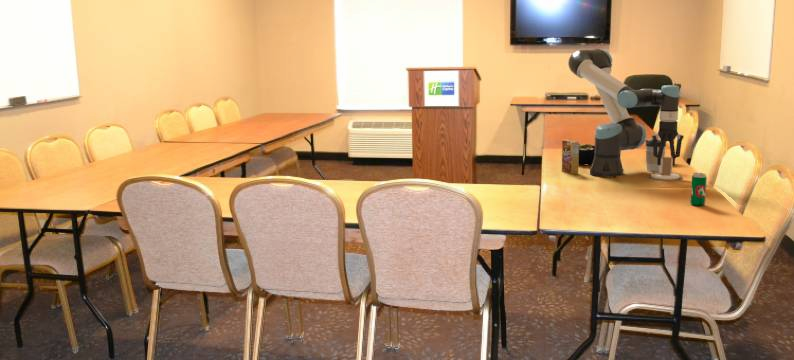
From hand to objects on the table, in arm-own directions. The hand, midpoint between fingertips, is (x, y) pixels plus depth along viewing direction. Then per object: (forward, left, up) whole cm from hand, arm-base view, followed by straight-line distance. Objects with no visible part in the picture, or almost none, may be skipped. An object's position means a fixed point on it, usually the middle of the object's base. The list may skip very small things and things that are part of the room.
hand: (665, 172), depth 304 cm
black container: (-4, +49, -3) cm, 49 cm away
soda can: (-28, -42, -3) cm, 51 cm away
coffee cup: (+9, +15, -3) cm, 18 cm away
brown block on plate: (0, 0, -2) cm, 2 cm away
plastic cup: (+29, +34, -3) cm, 45 cm away
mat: (0, 0, -3) cm, 3 cm away
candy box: (-26, +34, -3) cm, 43 cm away
